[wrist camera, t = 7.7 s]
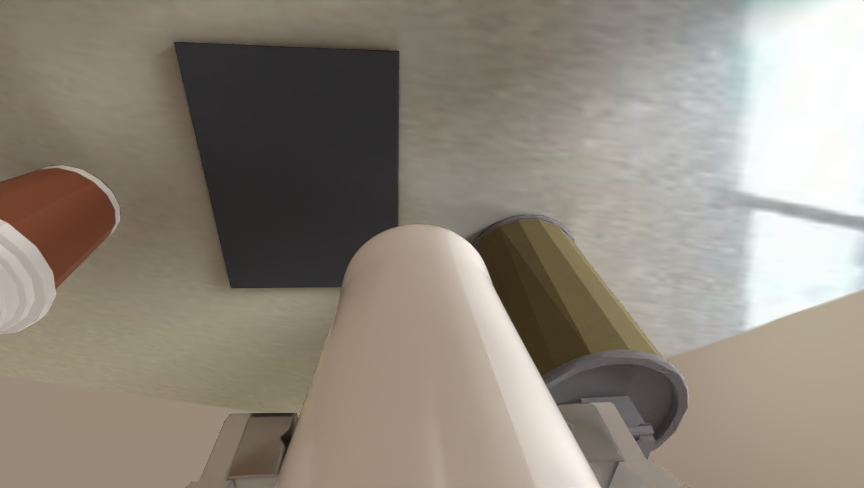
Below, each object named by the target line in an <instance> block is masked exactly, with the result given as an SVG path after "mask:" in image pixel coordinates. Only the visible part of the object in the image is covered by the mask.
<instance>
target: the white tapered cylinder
mask: <svg viewBox="0 0 864 488" xmlns="http://www.w3.org/2000/svg"><path fill="white" fill-rule="evenodd" d="M274 488H602V487H601V485H600V483H599V481H598V479H597V477H596V476H595V474H594V472H593V470H592V468H591V466H590V465H589V463H588V461H587V459H586V457H585V455H584V454H583V452H582V450H581V448H580V446H579V444H578V443H577V441H576V439H575V437H574V435H573V433H572V432H571V430H570V428H569V426H568V424H567V422H566V421H565V419H564V417H563V415H562V413H561V411H560V410H559V408H558V406H557V404H556V402H555V400H554V399H553V397H552V395H551V393H550V391H549V389H548V388H547V386H546V384H545V382H544V380H543V378H542V376H541V375H540V373H539V371H538V369H537V367H536V365H535V363H534V362H533V360H532V358H531V356H530V354H529V352H528V351H527V349H526V347H525V345H524V343H523V341H522V339H521V337H520V336H519V334H518V332H517V330H516V328H515V326H514V324H513V322H512V321H511V319H510V317H509V315H508V313H507V311H506V309H505V307H504V305H503V304H502V302H501V300H500V298H499V296H498V294H497V292H496V290H495V288H494V285H493V283H492V280H491V277H490V275H489V272H488V269H487V267H486V265H485V263H484V261H483V259H482V257H481V256H480V254H479V253H478V252H477V250H476V249H475V248H474V247H473V246H472V245H471V244H470V243H469V242H468V241H467V240H465V239H464V238H463V237H461V236H460V235H458V234H456V233H454V232H452V231H450V230H448V229H445V228H442V227H438V226H434V225H428V224H408V225H402V226H397V227H394V228H391V229H388V230H385V231H383V232H381V233H379V234H377V235H376V236H374V237H372V238H371V239H370V240H368V241H367V242H366V243H365V244H364V245H363V246H362V247H361V248H360V249H359V250H358V251H357V252H356V253H355V255H354V256H353V258H352V259H351V261H350V263H349V264H348V267H347V269H346V272H345V275H344V278H343V282H342V287H341V292H340V297H339V301H338V305H337V308H336V311H335V314H334V317H333V320H332V323H331V326H330V329H329V332H328V334H327V337H326V340H325V343H324V346H323V349H322V352H321V355H320V358H319V361H318V363H317V366H316V369H315V372H314V375H313V378H312V381H311V383H310V386H309V389H308V392H307V395H306V398H305V401H304V403H303V406H302V409H301V412H300V415H299V418H298V420H297V423H296V426H295V429H294V432H293V435H292V437H291V440H290V443H289V446H288V449H287V451H286V454H285V457H284V460H283V463H282V465H281V468H280V471H279V474H278V477H277V479H276V482H275V485H274Z"/></svg>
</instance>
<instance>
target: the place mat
mask: <svg viewBox="0 0 864 488" xmlns="http://www.w3.org/2000/svg"><path fill="white" fill-rule="evenodd" d="M174 44H175V48H176V53H177V57H178V61H179V66H180V70H181V74H182V78H183V83H184V87H185V91H186V96H187V100H188V104H189V109H190V113H191V117H192V122H193V126H194V130H195V135H196V139H197V143H198V147H199V152H200V156H201V160H202V165H203V169H204V173H205V178H206V182H207V186H208V191H209V195H210V199H211V204H212V208H213V212H214V216H215V221H216V225H217V229H218V234H219V238H220V242H221V247H222V251H223V255H224V260H225V264H226V268H227V273H228V277H229V281H230V285H231V288H298V287H342V282H343V278H344V275H345V272H346V269H347V267H348V264H349V263H350V261H351V259H352V258H353V256H354V255H355V253H356V252H357V251H358V250H359V249H360V248H361V247H362V246H363V245H364V244H365V243H366V242H367V241H368V240H370V239H371V238H372V237H374V236H376V235H377V234H379V233H381V232H383V231H385V230H388V229H391V228H394V227H397V226H398V167H399V51H380V50H356V49H332V48H308V47H284V46H259V45H235V44H211V43H187V42H175V43H174Z"/></svg>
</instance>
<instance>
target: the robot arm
mask: <svg viewBox="0 0 864 488" xmlns="http://www.w3.org/2000/svg"><path fill="white" fill-rule="evenodd" d="M557 406H558V408H559V410H560V411H561V413H562V415H563V417H564V419H565V421H566V422H567V424H568V426H569V428H570V430H571V432H572V433H573V435H574V437H575V439H576V441H577V443H578V444H579V446H580V448H581V450H582V452H583V454H584V455H585V457H586V459H587V461H588V463H589V465H590V466H591V468H592V470H593V472H594V474H595V476H596V477H597V479H598V481H599V483H600V485H601V487H602V488H689V487H687V486H686V485H685V484H683V483H682V482H681V481H680V480H678V479H677V478H676V477H674V476H673V475H672V474H670V473H669V472H668V471H666V470H665V469H663V468H662V467H661V466H660V465H658V464H657V463H656V462H654V461H652V460H646V458H645V456H644V455H643V453H642V451H641V449H640V448H639V446H638V444H637V443H636V441H635V439H634V438H633V436H632V434H631V432H630V431H629V429H628V427H627V426H626V424H625V422H624V421H623V419H622V417H621V415H620V414H619V412H618V410H617V409H616V407H615V405H614V404H612V403H611V402H592V403H589V402H582V403H561V404H557ZM297 420H298V415H297V413H250V414H230V415H229V416H228V417H227V419H226V420H225V421H224V424H223V426H222V429H221V431H220V433H219V436H218V438H217V440H216V443H215V445H214V447H213V450H212V452H211V455H210V457H209V459H208V462H207V464H206V466H205V468H204V471H203V473H202V476H201V478H200V480H199V482H191V483H190V484H189V485H188V486H187V487H186V488H274V485H275V482H276V479H277V477H278V474H279V471H280V468H281V465H282V463H283V460H284V457H285V454H286V451H287V449H288V446H289V443H290V440H291V437H292V435H293V432H294V429H295V426H296V423H297Z"/></svg>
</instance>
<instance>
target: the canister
mask: <svg viewBox="0 0 864 488" xmlns="http://www.w3.org/2000/svg"><path fill="white" fill-rule="evenodd" d="M473 247H474V248H475V249H476V250H477V252H478V253H479V254H480V256H481V257H482V259H483V261H484V263H485V265H486V267H487V269H488V272H489V275H490V277H491V280H492V283H493V285H494V288H495V290H496V292H497V294H498V296H499V298H500V300H501V302H502V304H503V305H504V307H505V309H506V311H507V313H508V315H509V317H510V319H511V321H512V322H513V324H514V326H515V328H516V330H517V332H518V334H519V336H520V337H521V339H522V341H523V343H524V345H525V347H526V349H527V351H528V352H529V354H530V356H531V358H532V360H533V362H534V363H535V365H536V367H537V369H538V371H539V373H540V375H541V376H542V378H543V380H544V382H545V384H546V386H547V388H548V389H549V391H550V393H551V395H552V397H553V399H554V400H555V402H556V404H561V403H582V402H589V403H592V402H611V403H612V404H614V405H615V407H616V409H617V410H618V412H619V414H620V415H621V417H622V419H623V421H624V422H625V424H626V426H627V427H628V429H629V431H630V432H631V434H632V436H633V438H634V439H635V441H636V443H637V444H638V446H639V448H640V449H641V451H642V453H643V455H644V456H645V458H646V460H647V459H648V456H649V454H650V452H652V451H654V450H655V449H657V448H658V447H659V446H660V445H662V444H663V442H665V441H666V440H667V439H668V438H669V437H670V436H671V435H672V434H673V433H674V432H675V431H676V429H677V428H678V426H679V424H680V422H681V421H682V419H683V417H684V415H685V413H686V410H687V408H688V396H689V391H688V388H687V384H686V381H685V379H684V378H683V376H682V375H681V373H680V372H679V371H678V370H677V369H676V368H675V367H674V366H673V365H672V364H671V363H670V362H669V361H667V360H665V359H664V358H663V356H662V355H661V354H660V353H659V351H658V350H657V349H656V347H655V346H654V345H653V344H652V342H651V341H650V340H649V338H648V337H647V336H646V335H645V333H644V332H643V331H642V329H641V328H640V327H639V326H638V324H637V323H636V322H635V321H634V319H633V318H632V317H631V315H630V314H629V313H628V312H627V310H626V309H625V308H624V306H623V305H622V304H621V303H620V301H619V300H618V299H617V297H616V296H615V295H614V294H613V292H612V291H611V290H610V288H609V287H608V286H607V285H606V283H605V282H604V281H603V279H602V278H601V277H600V276H599V274H598V273H597V272H596V271H595V269H594V268H593V267H592V265H591V264H590V263H589V262H588V260H587V259H586V258H585V256H584V255H583V254H582V253H581V251H580V250H579V249H578V247H577V246H576V245H575V243H574V240H573V238H572V236H571V235H570V233H569V232H568V231H567V229H566V228H564V227H563V226H562V225H561V224H560V223H558V222H557V221H555V220H552V219H550V218H548V217H545V216H540V215H521V216H513V217H510V218H507V219H504V220H502V221H500V222H497V223H495V224H493V225H492V226H491V227H490V228H488V229H487V230H486V231H485V232H484V233H483V234H482V235H481V236H480V237H479V238H478V239H477V240H476V241H475V243H474V244H473Z"/></svg>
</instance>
